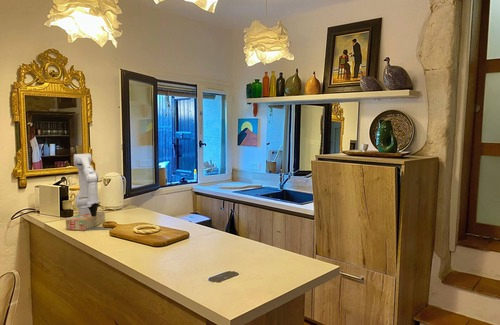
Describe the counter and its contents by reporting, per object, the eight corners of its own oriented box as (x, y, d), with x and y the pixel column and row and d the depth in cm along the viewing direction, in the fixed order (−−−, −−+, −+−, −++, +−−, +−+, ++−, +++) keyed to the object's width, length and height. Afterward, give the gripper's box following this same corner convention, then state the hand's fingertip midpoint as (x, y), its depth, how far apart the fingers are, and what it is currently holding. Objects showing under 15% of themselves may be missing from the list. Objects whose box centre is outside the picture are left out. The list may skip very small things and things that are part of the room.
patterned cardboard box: (105, 221, 236) (88, 220, 238) (105, 212, 235) (88, 211, 238) (83, 230, 215) (65, 229, 217) (83, 219, 214) (65, 219, 217)
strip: (80, 227, 222) (80, 227, 222) (114, 226, 223) (114, 226, 223) (76, 230, 216) (76, 230, 216) (111, 229, 218) (111, 228, 217)
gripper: (95, 195, 209) (96, 219, 210) (103, 191, 223) (104, 213, 224) (82, 196, 208) (84, 219, 209) (91, 191, 222) (92, 213, 224)
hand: (93, 216), depth 217 cm, fingers closed
